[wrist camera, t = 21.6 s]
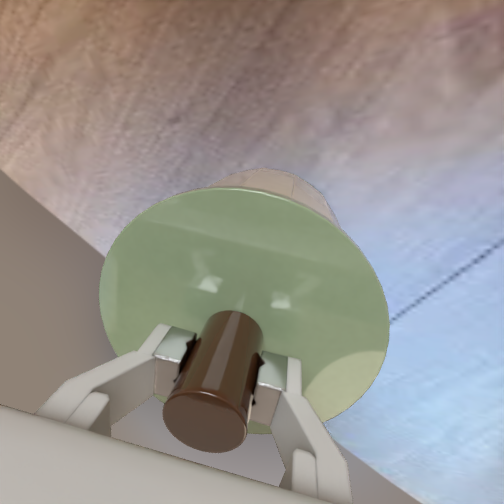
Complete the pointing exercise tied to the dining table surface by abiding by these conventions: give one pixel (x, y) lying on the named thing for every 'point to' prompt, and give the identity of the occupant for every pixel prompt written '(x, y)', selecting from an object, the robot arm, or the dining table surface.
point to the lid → (245, 305)
